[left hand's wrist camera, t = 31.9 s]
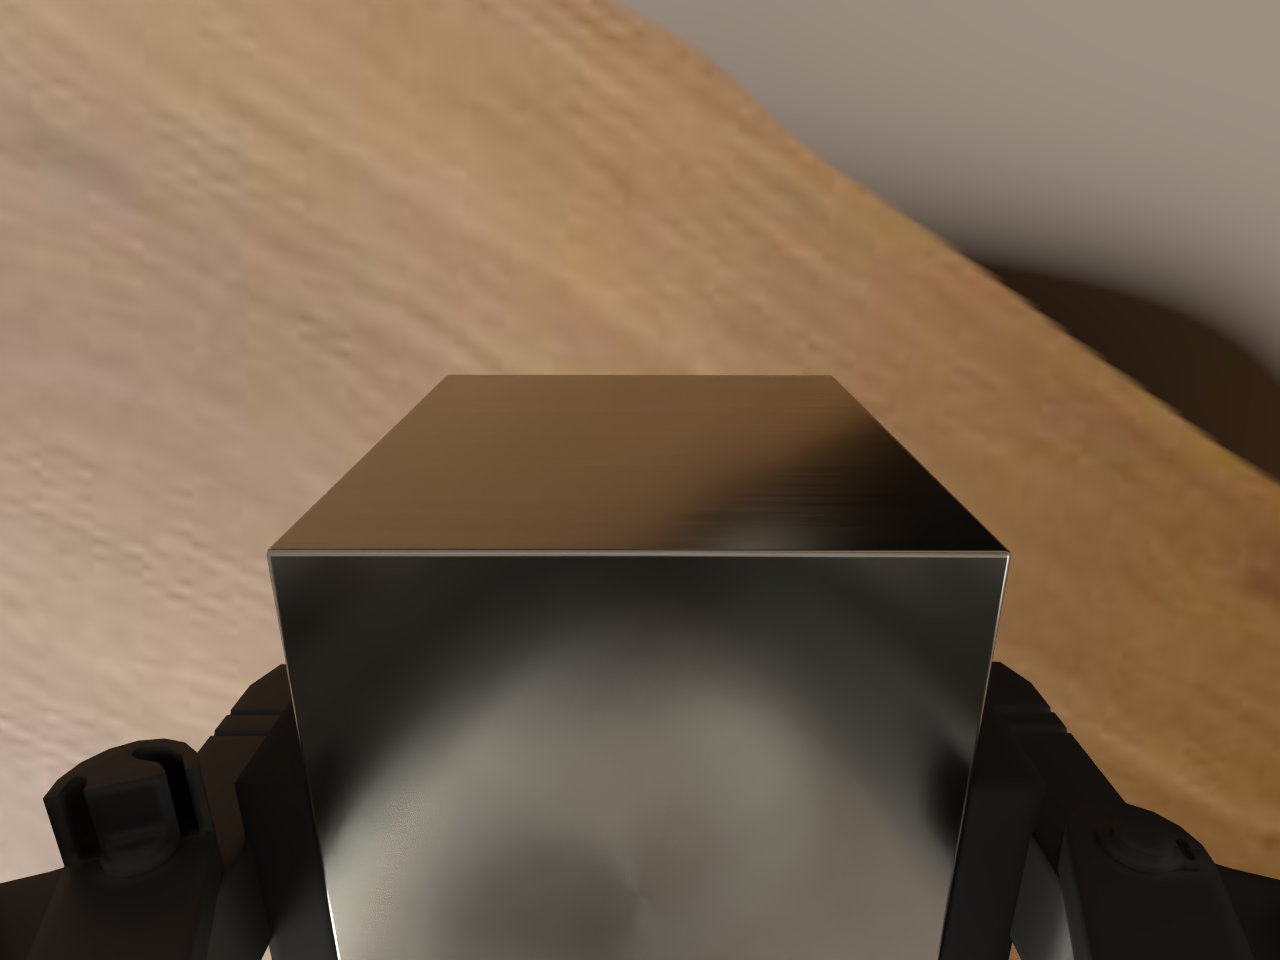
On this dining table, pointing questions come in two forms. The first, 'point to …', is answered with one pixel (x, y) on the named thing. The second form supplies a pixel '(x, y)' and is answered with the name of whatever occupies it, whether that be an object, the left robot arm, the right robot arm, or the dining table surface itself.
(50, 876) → the left robot arm
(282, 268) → the dining table surface
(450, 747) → the block
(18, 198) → the dining table surface
